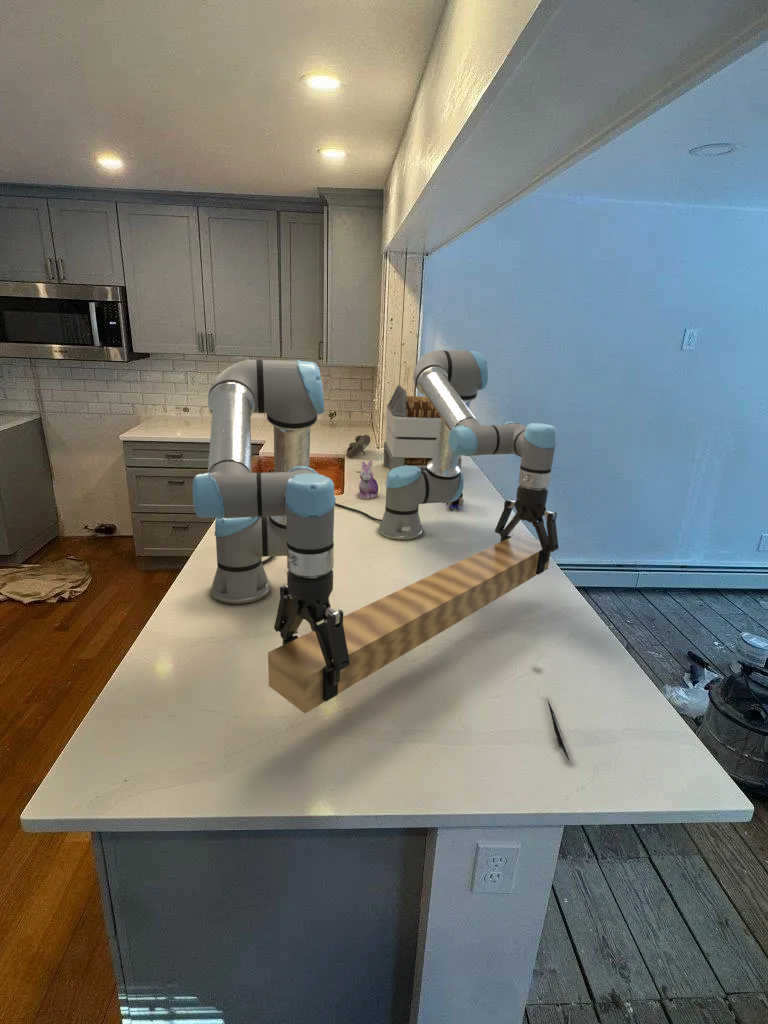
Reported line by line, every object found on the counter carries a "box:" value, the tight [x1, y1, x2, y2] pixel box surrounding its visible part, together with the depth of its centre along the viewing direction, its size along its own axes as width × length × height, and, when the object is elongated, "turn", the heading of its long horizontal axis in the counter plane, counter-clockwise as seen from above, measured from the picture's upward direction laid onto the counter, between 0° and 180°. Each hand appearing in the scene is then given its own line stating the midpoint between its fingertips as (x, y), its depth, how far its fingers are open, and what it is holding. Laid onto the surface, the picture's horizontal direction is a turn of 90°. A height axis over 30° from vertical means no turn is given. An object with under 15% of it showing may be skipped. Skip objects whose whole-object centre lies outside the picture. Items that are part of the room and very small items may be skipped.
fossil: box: [345, 434, 371, 459], centre depth 304 cm, size 22×10×15 cm
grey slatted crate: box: [383, 384, 463, 472], centre depth 268 cm, size 34×33×41 cm
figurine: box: [358, 460, 379, 500], centre depth 236 cm, size 9×10×15 cm
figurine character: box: [446, 492, 464, 511], centre depth 230 cm, size 7×8×15 cm
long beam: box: [267, 533, 552, 715], centre depth 124 cm, size 83×10×7 cm, turn 137°
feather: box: [536, 668, 570, 761], centre depth 113 cm, size 2×28×2 cm
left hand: (310, 682), depth 100 cm, fingers closed on long beam, 10 cm apart
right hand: (521, 565), depth 150 cm, fingers closed on long beam, 10 cm apart
